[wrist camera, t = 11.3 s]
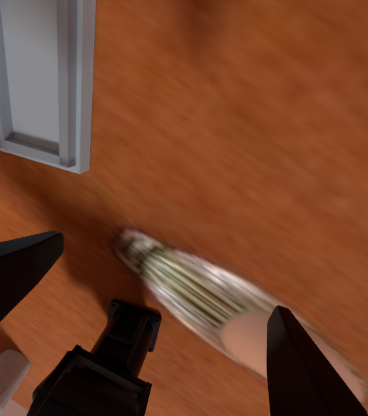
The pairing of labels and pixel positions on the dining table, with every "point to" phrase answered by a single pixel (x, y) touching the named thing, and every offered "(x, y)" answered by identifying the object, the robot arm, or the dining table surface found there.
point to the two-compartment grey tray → (47, 80)
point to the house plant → (11, 374)
